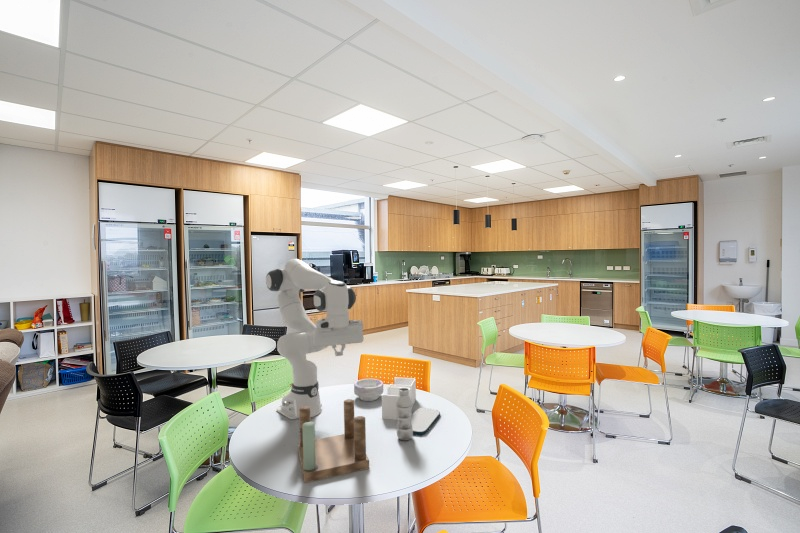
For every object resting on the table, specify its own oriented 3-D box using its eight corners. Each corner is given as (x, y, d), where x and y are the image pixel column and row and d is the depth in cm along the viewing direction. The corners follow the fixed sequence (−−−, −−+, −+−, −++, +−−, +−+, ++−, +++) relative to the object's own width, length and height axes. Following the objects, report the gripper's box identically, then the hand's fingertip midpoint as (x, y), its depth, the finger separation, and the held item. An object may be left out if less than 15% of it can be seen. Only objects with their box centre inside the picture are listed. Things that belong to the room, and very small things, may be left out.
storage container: (405, 420, 169) (405, 396, 168) (382, 418, 171) (381, 394, 171) (415, 399, 193) (415, 378, 193) (395, 398, 196) (394, 377, 195)
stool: (304, 482, 124) (303, 431, 123) (298, 450, 144) (297, 406, 144) (369, 468, 131) (368, 420, 131) (354, 439, 152) (353, 398, 151)
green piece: (302, 452, 136) (301, 413, 135) (313, 451, 137) (312, 411, 136) (303, 471, 124) (302, 428, 124) (316, 469, 125) (315, 426, 125)
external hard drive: (424, 437, 153) (424, 432, 153) (398, 432, 158) (398, 428, 158) (442, 414, 175) (442, 410, 175) (418, 411, 179) (418, 406, 179)
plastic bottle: (414, 442, 149) (413, 392, 148) (397, 442, 148) (396, 392, 148) (412, 434, 155) (411, 386, 155) (396, 435, 155) (395, 387, 154)
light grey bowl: (389, 397, 196) (389, 382, 196) (367, 406, 185) (367, 390, 185) (370, 390, 207) (370, 376, 207) (348, 398, 196) (348, 383, 196)
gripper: (361, 318, 158) (361, 350, 158) (311, 322, 151) (312, 356, 151) (365, 320, 152) (365, 354, 152) (313, 324, 145) (314, 360, 145)
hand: (338, 355), depth 152 cm, fingers closed
